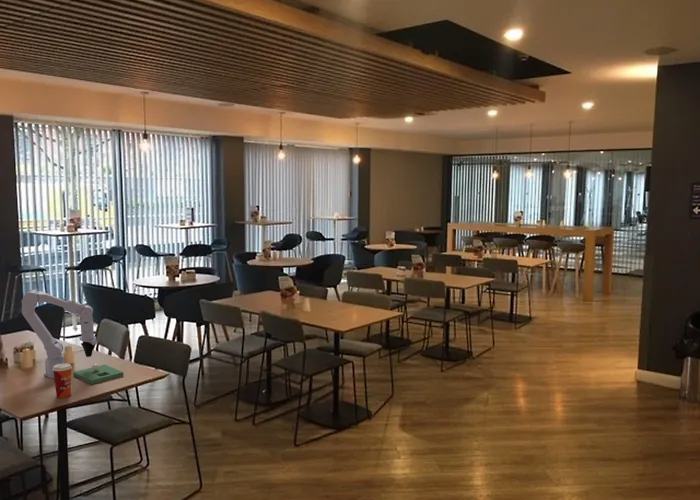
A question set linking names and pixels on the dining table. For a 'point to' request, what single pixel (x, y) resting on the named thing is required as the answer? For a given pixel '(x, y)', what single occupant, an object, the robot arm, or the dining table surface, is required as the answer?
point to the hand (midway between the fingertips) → (88, 356)
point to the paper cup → (62, 380)
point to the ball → (95, 367)
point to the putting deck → (98, 374)
